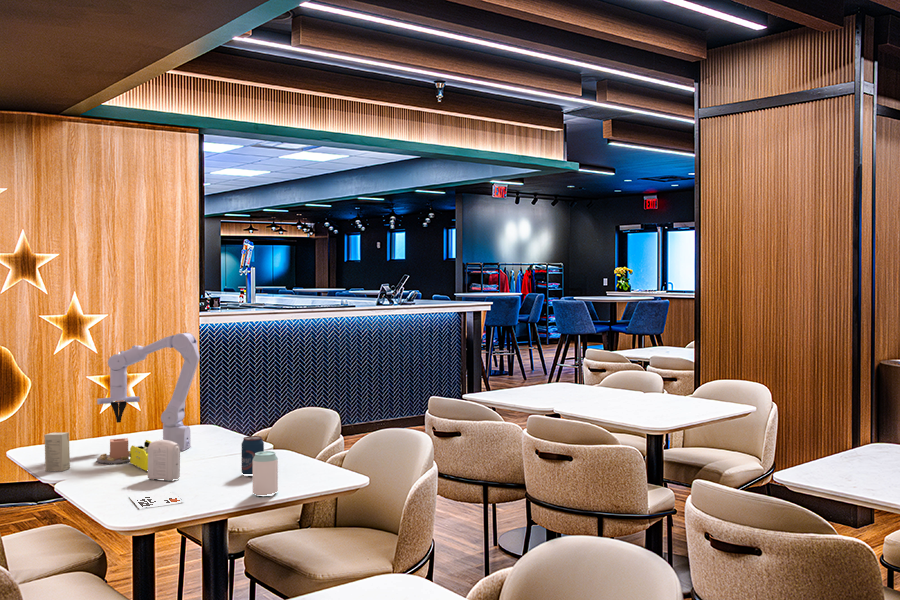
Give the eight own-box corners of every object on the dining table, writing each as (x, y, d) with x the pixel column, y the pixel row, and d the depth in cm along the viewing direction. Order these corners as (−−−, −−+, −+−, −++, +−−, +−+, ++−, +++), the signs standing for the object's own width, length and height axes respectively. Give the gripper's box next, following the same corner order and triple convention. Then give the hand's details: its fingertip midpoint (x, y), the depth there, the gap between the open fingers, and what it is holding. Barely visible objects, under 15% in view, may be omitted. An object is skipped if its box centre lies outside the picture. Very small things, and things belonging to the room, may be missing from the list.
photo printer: (182, 479, 235) (182, 439, 235) (173, 482, 231) (173, 442, 231) (154, 477, 238) (154, 438, 238) (145, 480, 234) (145, 440, 234)
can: (254, 498, 211) (254, 456, 211) (250, 493, 218) (250, 451, 218) (279, 496, 214) (279, 454, 214) (275, 490, 220) (275, 449, 220)
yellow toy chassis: (162, 470, 247) (162, 445, 247) (145, 473, 243) (145, 447, 243) (146, 463, 259) (146, 438, 259) (129, 465, 255) (129, 440, 255)
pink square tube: (127, 454, 267) (127, 438, 267) (128, 457, 262) (128, 440, 262) (110, 456, 265) (109, 439, 265) (110, 459, 260) (110, 442, 260)
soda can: (237, 476, 238) (236, 438, 238) (250, 471, 245) (249, 435, 245) (255, 478, 236) (255, 440, 236) (268, 473, 242) (268, 436, 242)
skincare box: (70, 468, 250) (70, 432, 250) (62, 471, 245) (62, 434, 245) (52, 468, 250) (52, 431, 250) (44, 471, 246) (43, 434, 246)
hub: (147, 456, 270) (147, 443, 270) (129, 464, 256) (129, 451, 256) (109, 455, 271) (109, 443, 271) (89, 464, 257) (89, 451, 257)
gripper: (97, 388, 275) (97, 425, 275) (140, 386, 281) (140, 422, 281) (96, 386, 281) (96, 422, 281) (138, 384, 288) (138, 419, 288)
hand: (118, 422), depth 282 cm, fingers closed
